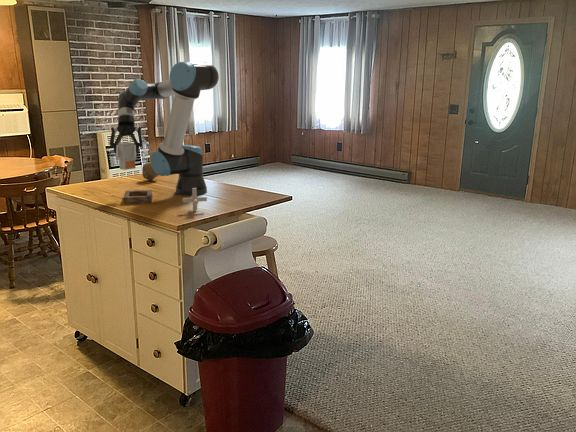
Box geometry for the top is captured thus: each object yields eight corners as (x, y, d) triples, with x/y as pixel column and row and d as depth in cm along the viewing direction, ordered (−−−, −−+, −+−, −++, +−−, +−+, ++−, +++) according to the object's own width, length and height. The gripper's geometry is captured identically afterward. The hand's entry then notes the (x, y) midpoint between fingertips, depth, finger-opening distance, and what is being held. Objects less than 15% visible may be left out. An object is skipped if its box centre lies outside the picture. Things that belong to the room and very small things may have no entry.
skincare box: (125, 170, 230) (122, 143, 226) (119, 169, 232) (117, 143, 229) (136, 168, 234) (134, 142, 231) (130, 167, 237) (128, 141, 234)
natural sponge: (162, 179, 277) (161, 161, 274) (156, 182, 268) (155, 164, 266) (146, 178, 278) (145, 160, 275) (140, 181, 269) (138, 163, 267)
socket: (152, 196, 239) (152, 189, 238) (151, 203, 226) (151, 196, 225) (126, 196, 236) (125, 190, 235) (123, 204, 223) (123, 197, 222)
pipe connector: (208, 213, 211) (207, 190, 208) (184, 214, 208) (183, 191, 206) (205, 207, 220) (204, 185, 218) (182, 208, 218) (181, 186, 215)
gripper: (148, 124, 245) (149, 162, 234) (105, 124, 240) (104, 163, 229) (147, 113, 238) (148, 152, 227) (103, 114, 234) (101, 153, 223)
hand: (126, 158), depth 228 cm, fingers closed on skincare box, 7 cm apart
